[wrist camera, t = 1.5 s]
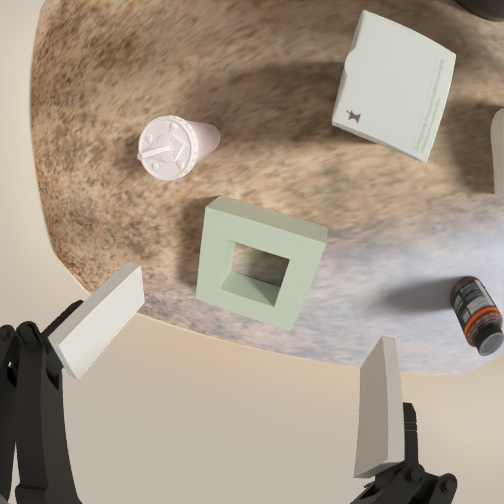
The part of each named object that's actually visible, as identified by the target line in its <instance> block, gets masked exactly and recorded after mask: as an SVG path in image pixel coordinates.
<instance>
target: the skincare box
mask: <svg viewBox="0 0 504 504" xmlns="http://www.w3.org/2000/svg"><path fill="white" fill-rule="evenodd" d="M455 59H456V54H455V53H453V52H451V51H450V50H448V49H446V48H445V47H443V46H441V45H440V44H438V43H436V42H435V41H433V40H431V39H429V38H427V37H425V36H423V35H422V34H420V33H418V32H416V31H414V30H412V29H409V28H407V27H405V26H403V25H401V24H399V23H396V22H394V21H392V20H389V19H387V18H384V17H382V16H379V15H376V14H374V13H371V12H368V11H366V10H363V11H362V13H361V15H360V18H359V21H358V24H357V27H356V30H355V34H354V37H353V40H352V43H351V47H350V50H349V53H348V56H347V58H346V60H345V66H344V70H343V73H342V77H341V81H340V85H339V89H338V94H337V98H336V102H335V106H334V111H333V114H332V122H331V123H332V125H334V126H336V127H339V128H341V129H343V130H345V131H348V132H350V133H352V134H354V135H357V136H359V137H362V138H364V139H367V140H369V141H372V142H374V143H377V144H380V145H382V146H385V147H387V148H390V149H392V150H395V151H397V152H400V153H402V154H404V155H407V156H409V157H411V158H414V159H416V160H418V161H421V162H423V163H426V162H427V159H428V157H429V154H430V151H431V148H432V145H433V142H434V139H435V136H436V133H437V130H438V127H439V124H440V121H441V118H442V114H443V111H444V107H445V104H446V100H447V96H448V93H449V89H450V84H451V80H452V75H453V70H454V65H455Z"/></svg>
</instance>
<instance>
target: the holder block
mask: <svg viewBox="0 0 504 504" xmlns="http://www.w3.org/2000/svg"><path fill="white" fill-rule="evenodd" d="M236 242H237V243H240V244H243V245H246V246H249V247H252V248H256V249H259V250H262V251H265V252H268V253H271V254H275V255H278V256H281V257H284V258H287V259H290V260H289V263H288V266H287V270H286V273H285V276H284V279H283V282H282V285H281V287H278V286H275V285H272V284H269V283H266V282H263V281H260V280H256V279H253V278H250V277H247V276H244V275H241V274H238V273H235V272H232V271H231V268H232V262H233V257H234V252H235V247H236ZM326 244H327V227H324V226H321V225H318V224H315V223H312V222H309V221H306V220H302V219H299V218H296V217H293V216H290V215H286V214H283V213H280V212H276V211H273V210H270V209H266V208H263V207H259V206H256V205H253V204H249V203H246V202H242V201H238V200H235V199H231V198H228V197H224V196H219V197H218V198H216V199H215V200H214V201H212V202H211V203H210V204H209V205H207V206H206V208H205V216H204V224H203V232H202V240H201V249H200V259H199V269H198V279H197V290H196V299H198V300H201V301H204V302H206V303H209V304H212V305H215V306H217V307H220V308H223V309H226V310H228V311H231V312H234V313H237V314H240V315H243V316H246V317H249V318H251V319H254V320H257V321H260V322H263V323H266V324H270V325H273V326H276V327H279V328H282V329H285V330H288V331H291V330H292V328H293V325H294V323H295V321H296V319H297V316H298V314H299V312H300V309H301V307H302V304H303V302H304V300H305V297H306V295H307V292H308V290H309V287H310V285H311V283H312V280H313V278H314V275H315V272H316V270H317V267H318V265H319V262H320V260H321V257H322V254H323V252H324V249H325V246H326Z"/></svg>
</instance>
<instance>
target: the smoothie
mask: <svg viewBox="0 0 504 504" xmlns="http://www.w3.org/2000/svg"><path fill="white" fill-rule="evenodd" d="M220 141H221V135H220V132H219V130H218V129H217V128H216V127H215V126H214V125H212V124H207V123H201V122H194V121H188V120H184V119H182V118H180V117H178V116H172V115H168V116H162V117H158V118H155V119H154V120H152V121H150V122H149V123H148V124H147V125H146V126H145V128H144V129H143V131H142V133H141V135H140V138H139V144H138V152H139V154H138V155H137V158H138V159H139V160H141V163H142V165H143V167H144V168H145V170H146V171H147V172H148V173H149V174H150V175H151V176H153V177H155V178H156V179H159V180H163V181H172V180H175V179H178V178H181V177H183V176H184V175H186V174H187V173H189V171H190V170H191V169H192V168H193V166H194V164H196V163H197V162H199V161H200V160H201V159H203V158H204V157H205V156H207V155H208V154H210V153H211V152H212V151H214V150H215V149H216V148H217V147H218V146H219V144H220Z"/></svg>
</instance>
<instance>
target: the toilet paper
mask: <svg viewBox="0 0 504 504" xmlns="http://www.w3.org/2000/svg"><path fill="white" fill-rule="evenodd" d="M490 131H491V146H492V156H493V169H494V194H496V195H498V196H500V197H502V198H504V108H502V109H500V110H499V111H497V112H496V113H495V115H494V117H493V119H492V124H491V129H490Z"/></svg>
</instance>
